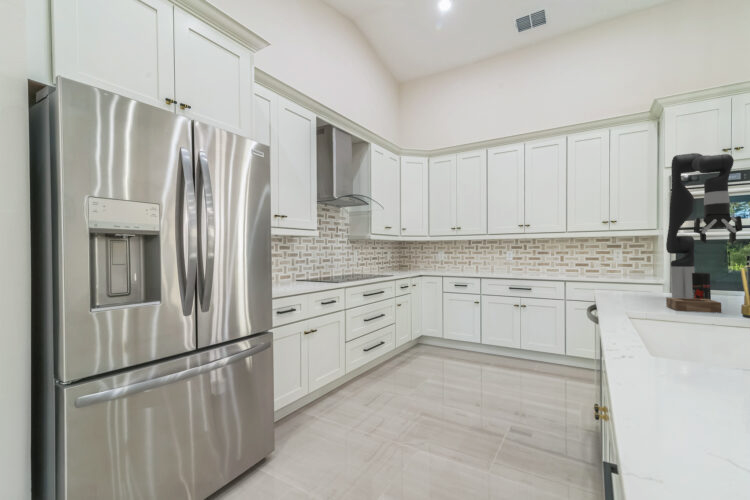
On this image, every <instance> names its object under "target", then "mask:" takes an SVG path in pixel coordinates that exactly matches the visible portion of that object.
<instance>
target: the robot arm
mask: <svg viewBox="0 0 750 500" xmlns="http://www.w3.org/2000/svg"><path fill="white" fill-rule="evenodd" d="M733 157H734V156H732V155H731V154H728V153H724V154H723V153H722V154H714V155H708V154H707V155H704V154H701V153H696V152H695V153H694V152H693V153H685V154H677V155H674V156H673V157H672V160H671V190H670V191H671V192H670V202H669V221H668V229H667V236H666V243H665V246H666V251H667V253H669V254H684V255H683V256H682V257H680V258H677V259H674V260H672V261H670V278H671V279H670V280H671V298H693V290H692V273H696V272H695V250H696V249H695V246H696V244H695V238H694V237H693V236H692V235H678V233H679V230H680V228H681V227H682V226H683V225H684V223H686V221H687V220H688V219H689V218H690V217H691V216H692V215H693V212H694V211H695V210H694V208H695V198H694V195H693V194H692V192H691V191H690V190H689V189H688V188H687V187H686V185H685V184H684V181H683V179H682V174H689V173H691V174H692V173H696V172H699V173H701V174H712V173H719V174H718V176H716V177H710V178H709V179H706V180H705V181H704V182H703V185H704V186H703V187H704V194H703V195H704V196H703V211H704V214H703V215H704V216H703V218H699V217H698V218H697V217H696V218H695V219H694V220H693V232H694V234H695V233H697V234H699V239H700V240H699V241H700V242H701V243H702V244H706V243H707V234H706V233H707V232H708V230H710V229H716V228H717V229H722V228H723V229H725V230H726V231H728V232H729V233H728V235H729V236H728V237H729V240H728V241H729V243H735V241H736V240H737V233H738V232H741V231H743V223H742V217H741V216H740V215H739V216H732V217H731V210H730V209H731V207H730V201H731V199H730V195H729V178H730V175H731V171H732V169H733V166H734V158H733ZM731 221H732V222H733V223H734V227H733V225H731V224H730V222H731ZM702 223H704V224H705V225H704V226H703V227H702V229H701V230H700V227H701V224H702Z"/></svg>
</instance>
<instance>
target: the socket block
mask: <svg viewBox="0 0 750 500" xmlns="http://www.w3.org/2000/svg"><path fill="white" fill-rule="evenodd" d="M665 301H666V303H665V304H666V307H667V308H669V309H671V310H674V311H676V312H694V311H695V313H698V312H699V313H700V312H701V313H716V312H717V314H719V313H722V302H721V301H720V302H719V301H716V300H712V299H711V300H709V299H695V298H672V297H666V298H665Z"/></svg>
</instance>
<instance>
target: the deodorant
mask: <svg viewBox="0 0 750 500" xmlns="http://www.w3.org/2000/svg"><path fill="white" fill-rule="evenodd" d="M692 290H693V298H695V299H709V300H712V298H711V297H712V295H711V294H712V293H711V273H709V272H695V273H692Z"/></svg>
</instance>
